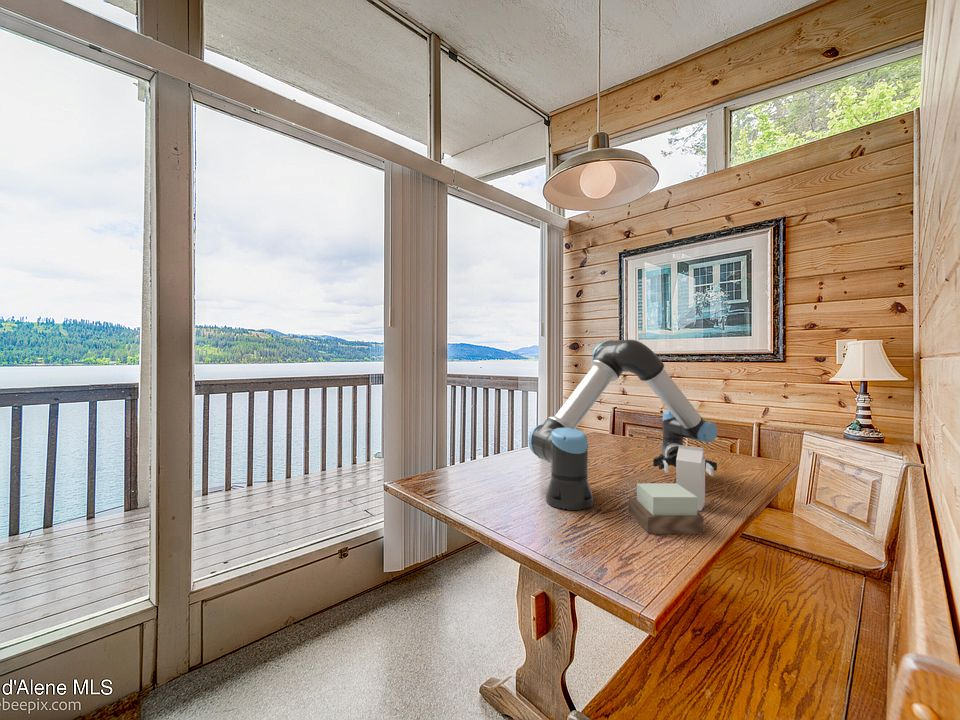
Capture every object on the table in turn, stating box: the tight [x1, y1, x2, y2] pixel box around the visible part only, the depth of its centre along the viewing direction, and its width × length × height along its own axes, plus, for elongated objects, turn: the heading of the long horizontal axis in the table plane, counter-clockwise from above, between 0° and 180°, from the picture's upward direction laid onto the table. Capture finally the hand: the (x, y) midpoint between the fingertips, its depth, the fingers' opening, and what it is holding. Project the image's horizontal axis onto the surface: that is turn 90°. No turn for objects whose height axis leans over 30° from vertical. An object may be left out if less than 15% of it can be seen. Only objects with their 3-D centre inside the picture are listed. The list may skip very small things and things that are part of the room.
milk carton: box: [675, 444, 706, 512], centre depth 131 cm, size 7×7×19 cm
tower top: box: [636, 482, 698, 515], centre depth 118 cm, size 12×12×5 cm
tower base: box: [627, 497, 705, 534], centre depth 119 cm, size 15×15×5 cm
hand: (689, 470), depth 136 cm, fingers open, 13 cm apart
